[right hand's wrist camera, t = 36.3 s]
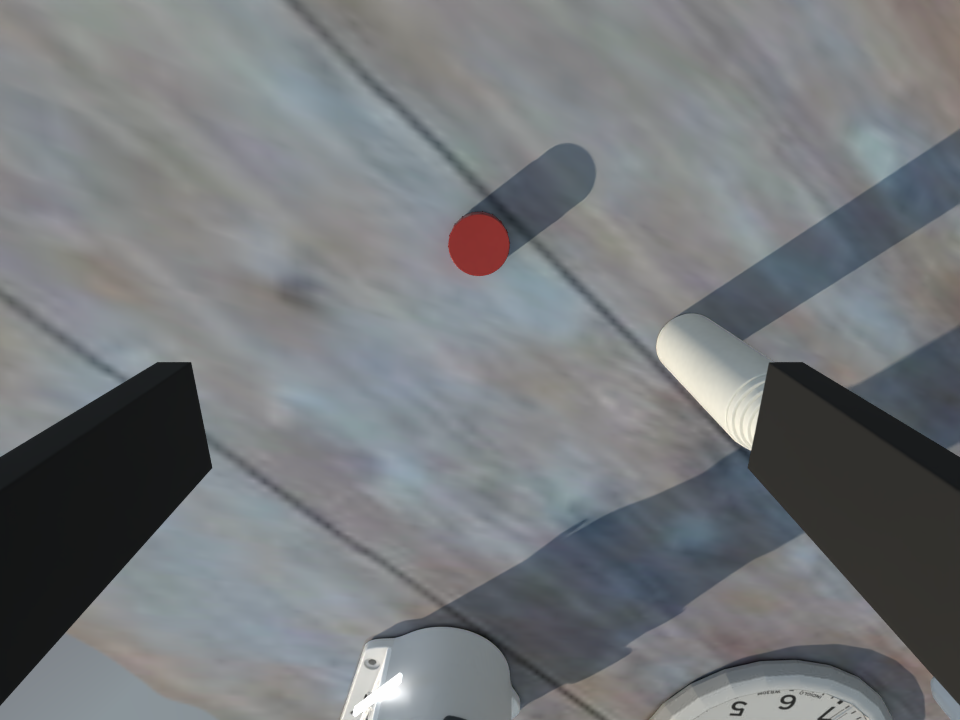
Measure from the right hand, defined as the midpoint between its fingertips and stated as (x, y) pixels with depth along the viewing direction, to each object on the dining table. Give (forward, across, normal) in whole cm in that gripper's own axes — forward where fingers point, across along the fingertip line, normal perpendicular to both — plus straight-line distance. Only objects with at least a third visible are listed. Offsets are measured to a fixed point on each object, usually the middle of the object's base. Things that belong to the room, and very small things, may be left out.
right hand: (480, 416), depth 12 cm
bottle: (+31, +18, -9) cm, 37 cm away
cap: (+29, 0, 0) cm, 29 cm away
